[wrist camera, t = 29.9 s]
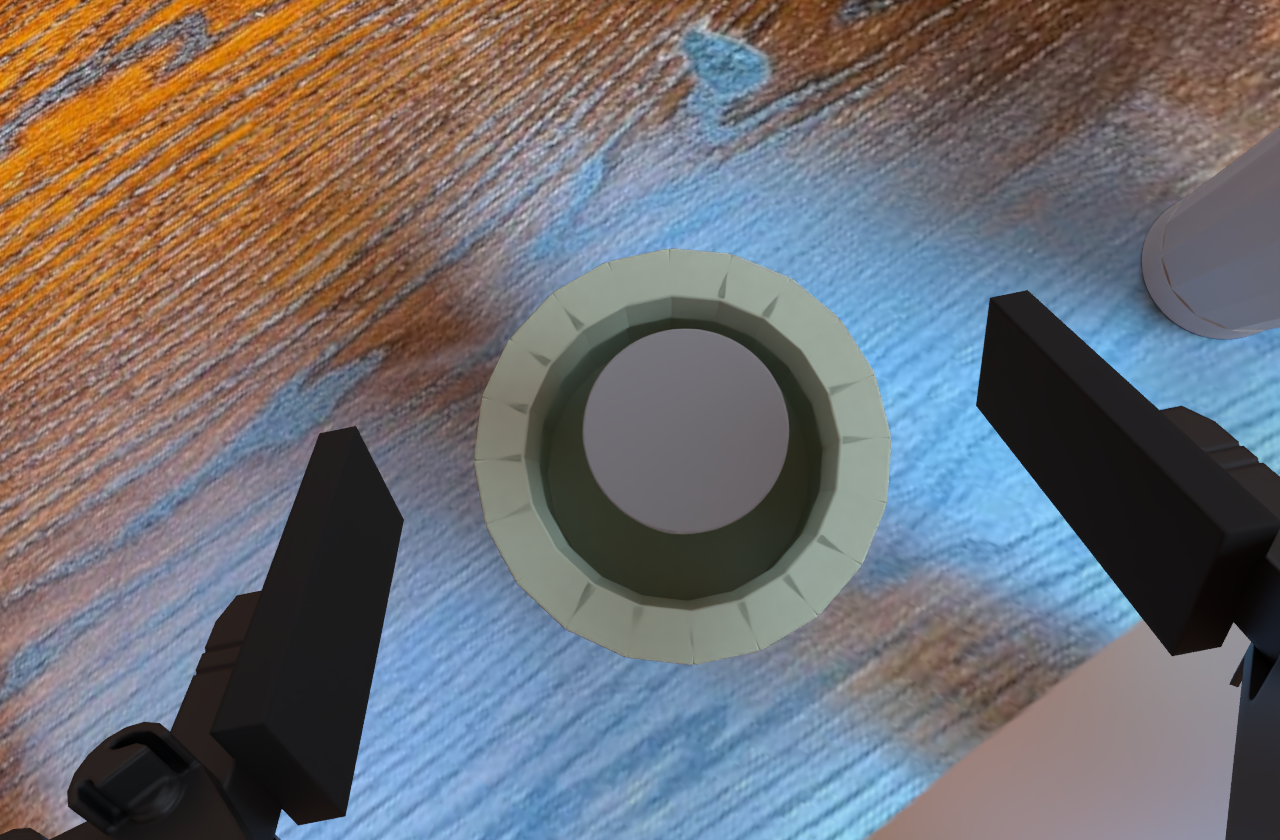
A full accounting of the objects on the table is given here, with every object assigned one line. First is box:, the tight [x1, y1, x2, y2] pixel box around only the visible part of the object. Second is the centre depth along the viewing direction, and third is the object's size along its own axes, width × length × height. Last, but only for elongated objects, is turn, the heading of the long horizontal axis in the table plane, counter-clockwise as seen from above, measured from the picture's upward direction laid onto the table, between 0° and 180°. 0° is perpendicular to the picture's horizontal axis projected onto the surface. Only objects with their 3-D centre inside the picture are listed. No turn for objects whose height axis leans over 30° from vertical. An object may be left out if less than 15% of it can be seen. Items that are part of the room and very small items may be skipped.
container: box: [583, 329, 789, 534], centre depth 24 cm, size 5×5×15 cm
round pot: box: [474, 248, 891, 665], centre depth 27 cm, size 12×12×10 cm
